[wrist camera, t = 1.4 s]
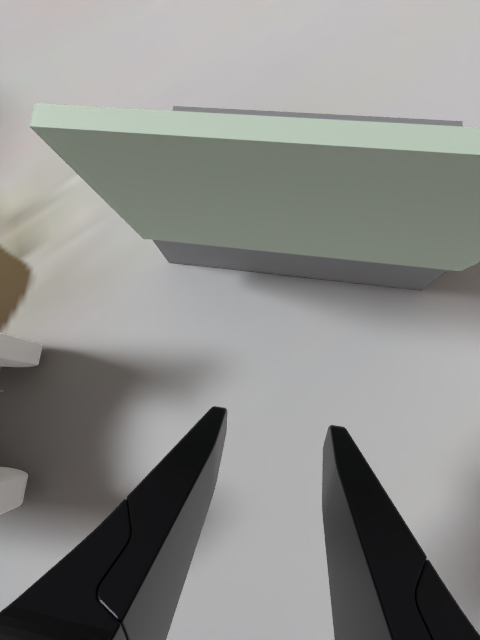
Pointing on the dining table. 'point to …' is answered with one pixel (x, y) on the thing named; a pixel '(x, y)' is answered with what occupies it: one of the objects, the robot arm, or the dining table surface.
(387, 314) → the dining table surface
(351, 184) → the cover
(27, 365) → the cable organizer
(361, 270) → the grey open box
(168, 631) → the robot arm
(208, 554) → the dining table surface
